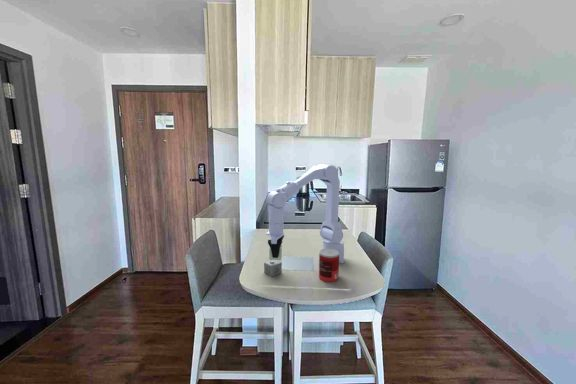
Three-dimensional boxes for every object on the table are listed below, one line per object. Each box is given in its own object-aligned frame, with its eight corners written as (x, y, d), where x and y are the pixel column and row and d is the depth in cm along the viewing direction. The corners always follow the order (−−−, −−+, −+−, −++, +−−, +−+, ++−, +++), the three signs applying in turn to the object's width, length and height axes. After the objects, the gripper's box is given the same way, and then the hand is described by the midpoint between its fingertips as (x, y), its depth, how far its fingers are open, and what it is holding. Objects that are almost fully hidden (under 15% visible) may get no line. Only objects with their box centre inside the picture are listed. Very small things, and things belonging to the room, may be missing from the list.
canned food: (336, 273, 111) (337, 248, 109) (340, 283, 103) (341, 256, 101) (317, 274, 110) (318, 248, 109) (320, 283, 102) (321, 256, 101)
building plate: (312, 258, 126) (312, 257, 126) (313, 272, 112) (313, 270, 112) (282, 257, 127) (282, 256, 127) (279, 270, 113) (279, 269, 113)
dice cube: (264, 274, 110) (264, 262, 110) (273, 270, 114) (273, 258, 113) (272, 278, 107) (272, 266, 106) (281, 274, 110) (281, 262, 110)
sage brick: (281, 255, 111) (281, 245, 110) (280, 260, 107) (280, 249, 106) (271, 255, 111) (270, 245, 111) (269, 259, 107) (269, 249, 106)
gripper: (268, 217, 114) (269, 247, 116) (262, 227, 100) (263, 261, 102) (285, 217, 113) (285, 248, 116) (282, 227, 99) (281, 262, 101)
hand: (276, 254), depth 109 cm, fingers closed on sage brick, 4 cm apart
